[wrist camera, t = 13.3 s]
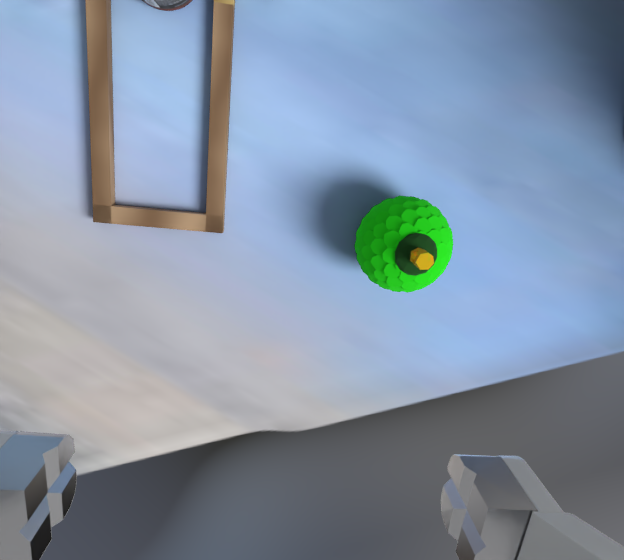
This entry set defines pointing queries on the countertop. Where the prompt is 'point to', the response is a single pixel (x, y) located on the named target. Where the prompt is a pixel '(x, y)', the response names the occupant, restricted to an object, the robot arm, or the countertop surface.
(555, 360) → the countertop surface
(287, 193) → the countertop surface
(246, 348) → the countertop surface
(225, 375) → the countertop surface
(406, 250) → the ornament
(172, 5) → the supplement bottle
